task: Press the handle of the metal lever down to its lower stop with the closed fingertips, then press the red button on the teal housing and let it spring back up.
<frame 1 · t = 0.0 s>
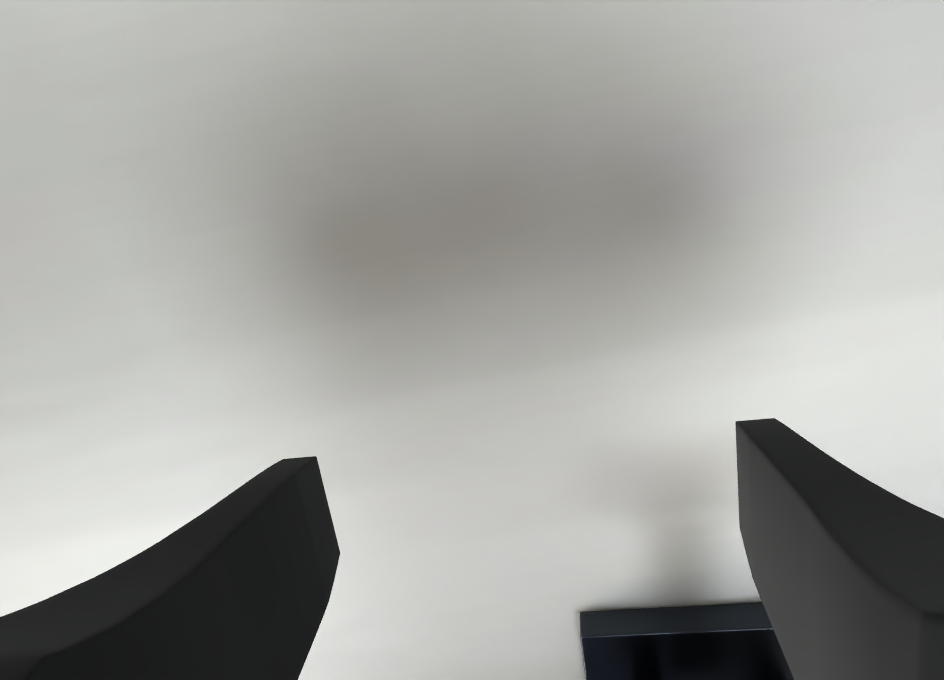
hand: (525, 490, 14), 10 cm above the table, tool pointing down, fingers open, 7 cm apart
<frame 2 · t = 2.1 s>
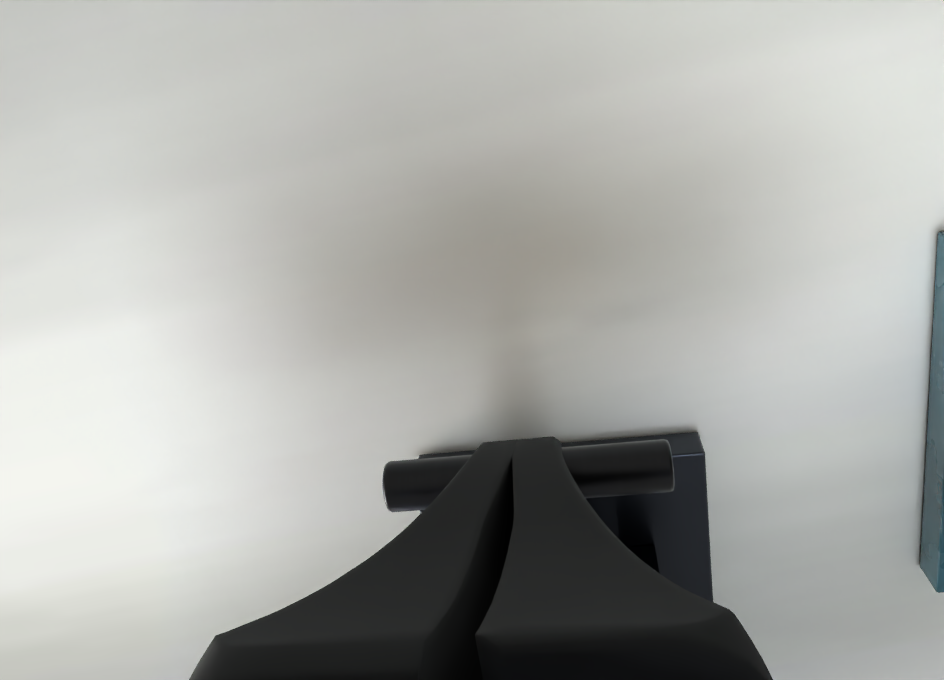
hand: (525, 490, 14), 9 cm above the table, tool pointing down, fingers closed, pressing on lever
bracket: (573, 585, 25), on the table
lever: (557, 665, 17), point 8 cm above the table, hinge at 8.4°, touching gripper
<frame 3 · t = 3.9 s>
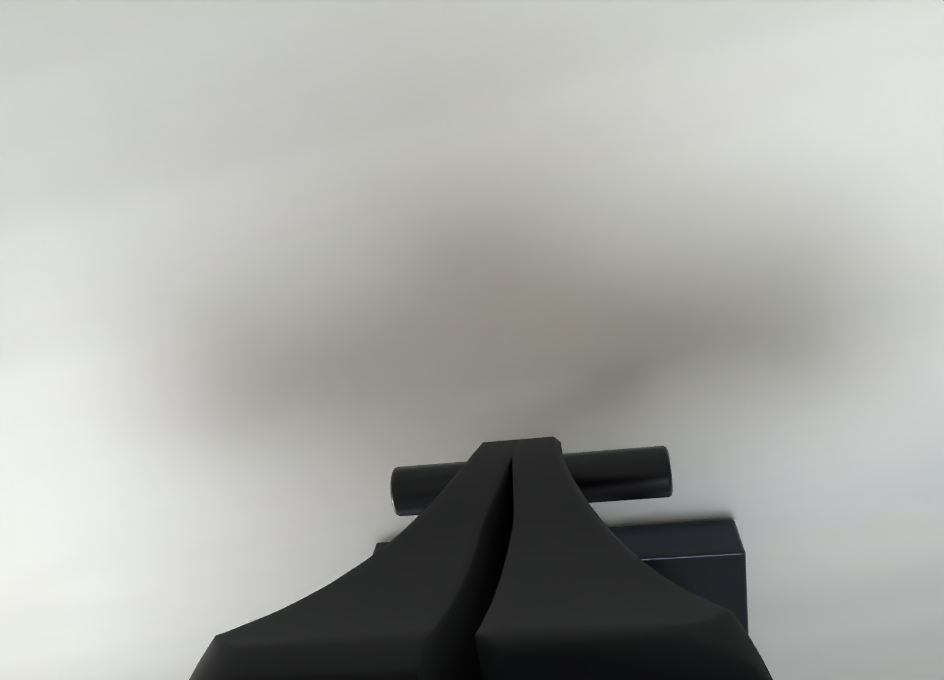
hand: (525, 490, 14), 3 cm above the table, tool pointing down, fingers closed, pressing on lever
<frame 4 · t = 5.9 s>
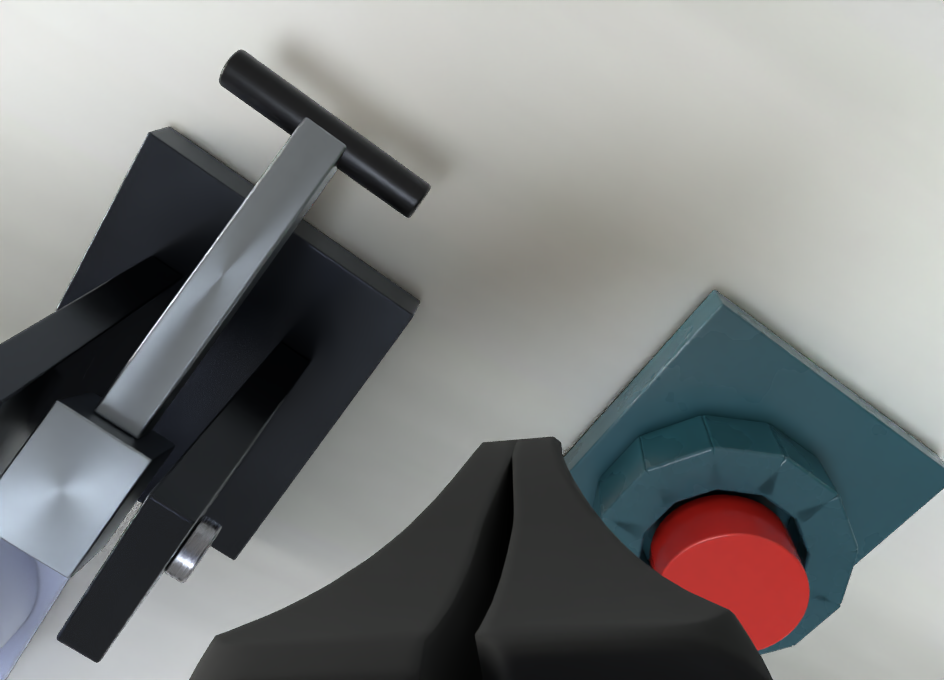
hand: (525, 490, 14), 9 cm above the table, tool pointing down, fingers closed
button box: (703, 497, 24), on the table
bracket: (212, 352, 24), on the table
button: (725, 573, 21), point 3 cm above the table, slide at 0.1 cm
lever: (193, 321, 18), point 5 cm above the table, hinge at -26.1°
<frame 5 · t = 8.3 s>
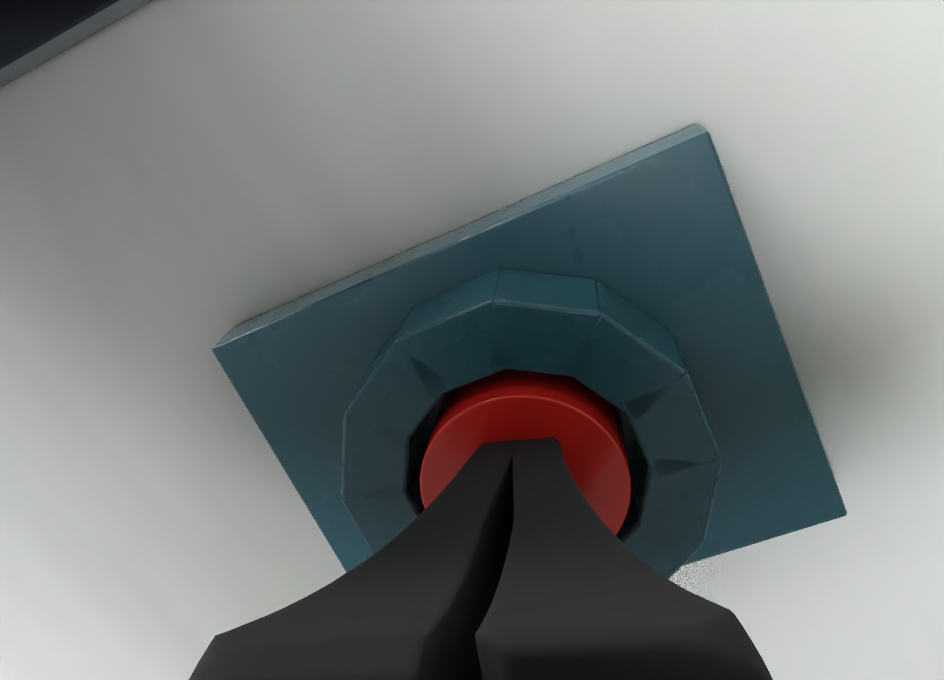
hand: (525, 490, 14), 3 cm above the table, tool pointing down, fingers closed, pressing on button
button box: (530, 405, 17), on the table
button: (525, 464, 15), point 2 cm above the table, slide at -0.9 cm, touching gripper
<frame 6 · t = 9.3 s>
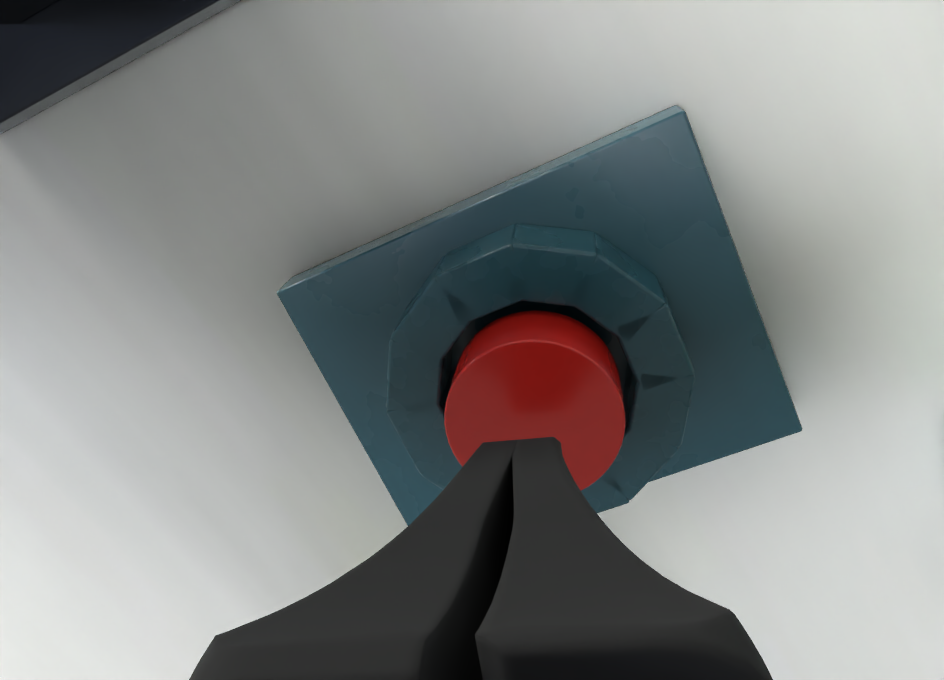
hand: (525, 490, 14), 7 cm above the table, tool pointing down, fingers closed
button box: (540, 342, 20), on the table
button: (535, 404, 17), point 3 cm above the table, slide at 0.1 cm
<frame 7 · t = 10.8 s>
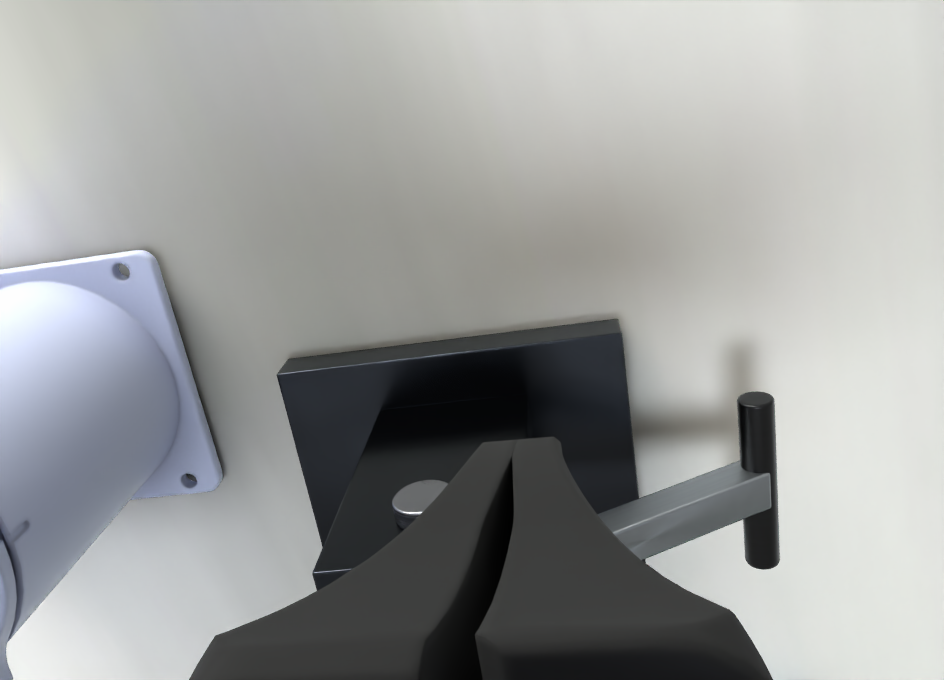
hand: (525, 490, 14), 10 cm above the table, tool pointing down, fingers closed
bracket: (470, 456, 26), on the table
lever: (595, 546, 20), point 5 cm above the table, hinge at -26.1°
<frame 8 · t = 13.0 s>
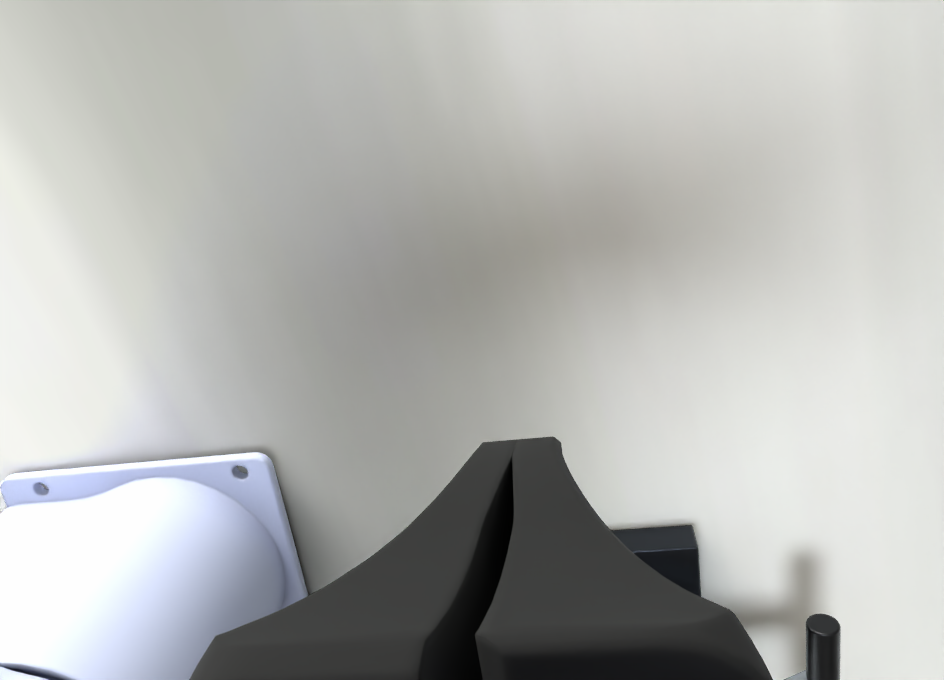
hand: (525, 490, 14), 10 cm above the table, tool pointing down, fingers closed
bracket: (548, 633, 28), on the table
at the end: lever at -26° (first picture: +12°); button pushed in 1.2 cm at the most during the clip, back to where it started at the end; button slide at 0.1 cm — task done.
